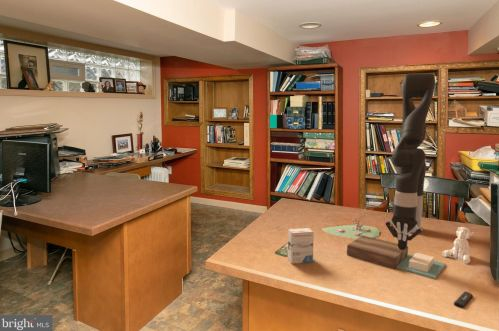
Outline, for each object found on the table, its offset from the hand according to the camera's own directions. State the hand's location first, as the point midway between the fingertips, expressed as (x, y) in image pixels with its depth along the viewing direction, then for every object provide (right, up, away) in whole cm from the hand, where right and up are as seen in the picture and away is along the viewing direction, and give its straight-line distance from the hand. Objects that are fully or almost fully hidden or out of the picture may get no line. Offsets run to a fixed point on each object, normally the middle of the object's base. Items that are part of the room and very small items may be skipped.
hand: (402, 249), depth 126 cm
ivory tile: (+5, -2, -4) cm, 7 cm away
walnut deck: (-7, -4, +7) cm, 10 cm away
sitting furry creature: (+24, -5, +5) cm, 25 cm away
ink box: (-37, -5, +3) cm, 37 cm away
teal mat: (+5, -5, -3) cm, 8 cm away
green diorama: (-9, -1, +33) cm, 35 cm away
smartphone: (-39, -4, +13) cm, 41 cm away
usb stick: (+7, -10, -25) cm, 27 cm away
